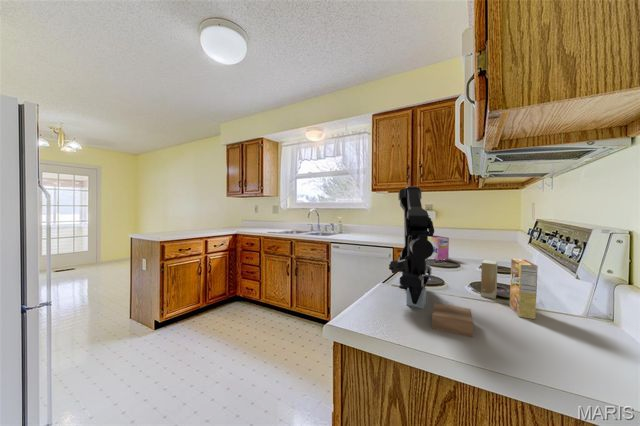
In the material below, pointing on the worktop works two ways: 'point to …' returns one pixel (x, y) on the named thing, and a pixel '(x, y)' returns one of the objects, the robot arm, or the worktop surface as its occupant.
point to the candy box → (523, 288)
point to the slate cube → (421, 300)
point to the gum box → (439, 247)
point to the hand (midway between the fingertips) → (416, 301)
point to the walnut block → (452, 319)
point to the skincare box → (489, 279)
